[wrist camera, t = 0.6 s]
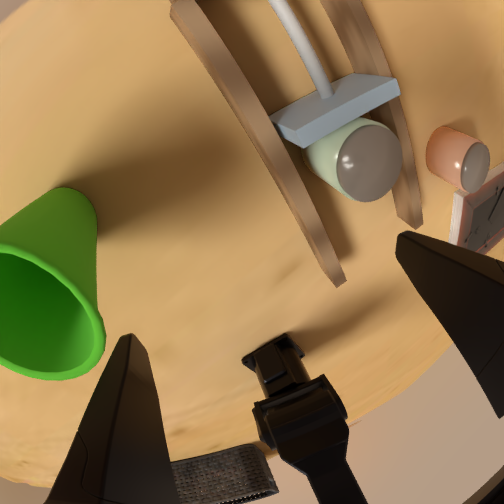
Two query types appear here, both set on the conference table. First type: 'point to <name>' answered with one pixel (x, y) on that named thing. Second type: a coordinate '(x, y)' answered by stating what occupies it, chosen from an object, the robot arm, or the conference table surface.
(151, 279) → the conference table surface
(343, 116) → the pusher
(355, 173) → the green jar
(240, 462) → the storage bin
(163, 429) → the robot arm
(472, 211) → the picture frame
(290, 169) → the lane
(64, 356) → the cup
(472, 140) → the jar
